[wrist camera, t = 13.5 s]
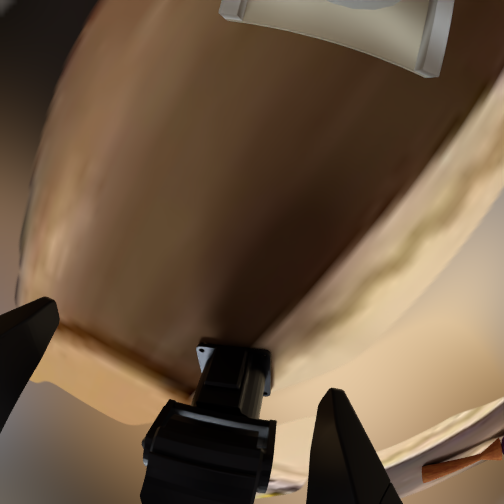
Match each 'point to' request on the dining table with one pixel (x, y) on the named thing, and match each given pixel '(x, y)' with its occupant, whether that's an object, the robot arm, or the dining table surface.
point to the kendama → (462, 462)
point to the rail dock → (360, 27)
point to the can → (365, 3)
